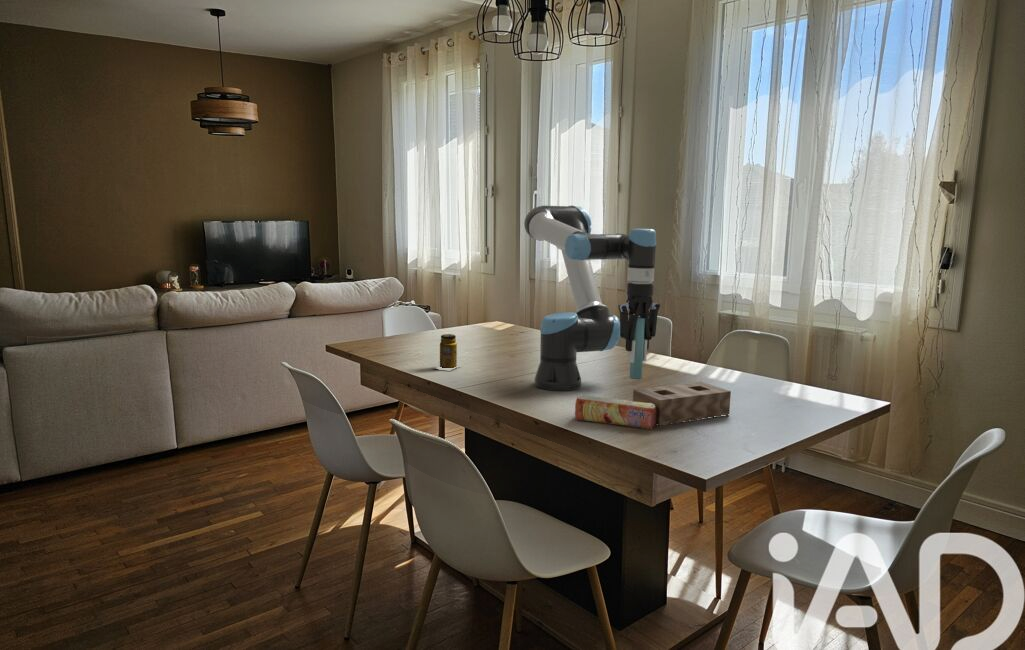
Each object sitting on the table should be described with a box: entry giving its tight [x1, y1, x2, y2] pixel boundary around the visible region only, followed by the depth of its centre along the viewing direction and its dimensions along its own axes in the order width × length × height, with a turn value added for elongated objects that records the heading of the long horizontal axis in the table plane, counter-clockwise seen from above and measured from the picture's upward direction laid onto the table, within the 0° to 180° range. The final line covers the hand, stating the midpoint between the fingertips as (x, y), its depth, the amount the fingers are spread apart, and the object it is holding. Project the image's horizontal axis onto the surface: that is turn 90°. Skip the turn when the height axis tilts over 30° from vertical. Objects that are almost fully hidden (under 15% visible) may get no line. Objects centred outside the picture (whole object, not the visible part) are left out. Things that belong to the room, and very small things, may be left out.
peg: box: [629, 316, 645, 380], centre depth 201 cm, size 4×4×18 cm
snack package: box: [574, 394, 657, 430], centre depth 181 cm, size 21×7×7 cm, turn 69°
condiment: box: [439, 333, 458, 368], centre depth 243 cm, size 7×8×12 cm
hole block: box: [632, 381, 732, 426], centre depth 189 cm, size 24×12×7 cm, turn 116°
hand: (636, 361), depth 202 cm, fingers closed on peg, 3 cm apart
